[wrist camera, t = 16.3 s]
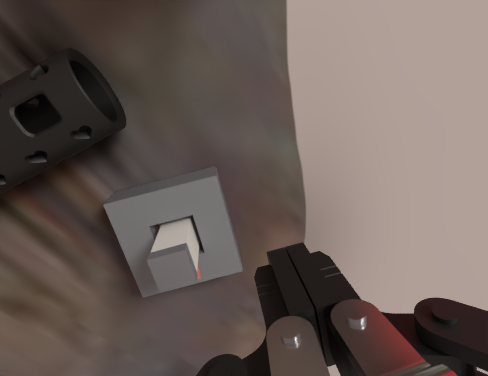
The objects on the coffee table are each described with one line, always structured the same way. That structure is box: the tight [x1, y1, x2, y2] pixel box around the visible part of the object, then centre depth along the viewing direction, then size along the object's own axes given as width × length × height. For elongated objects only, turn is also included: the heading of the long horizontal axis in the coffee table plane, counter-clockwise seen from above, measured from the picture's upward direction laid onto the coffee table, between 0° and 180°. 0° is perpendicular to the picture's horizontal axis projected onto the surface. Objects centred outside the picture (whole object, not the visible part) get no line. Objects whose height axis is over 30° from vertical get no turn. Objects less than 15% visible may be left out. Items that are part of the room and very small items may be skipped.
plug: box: [147, 215, 200, 292], centre depth 35 cm, size 4×4×11 cm
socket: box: [103, 166, 243, 298], centre depth 39 cm, size 14×14×6 cm
